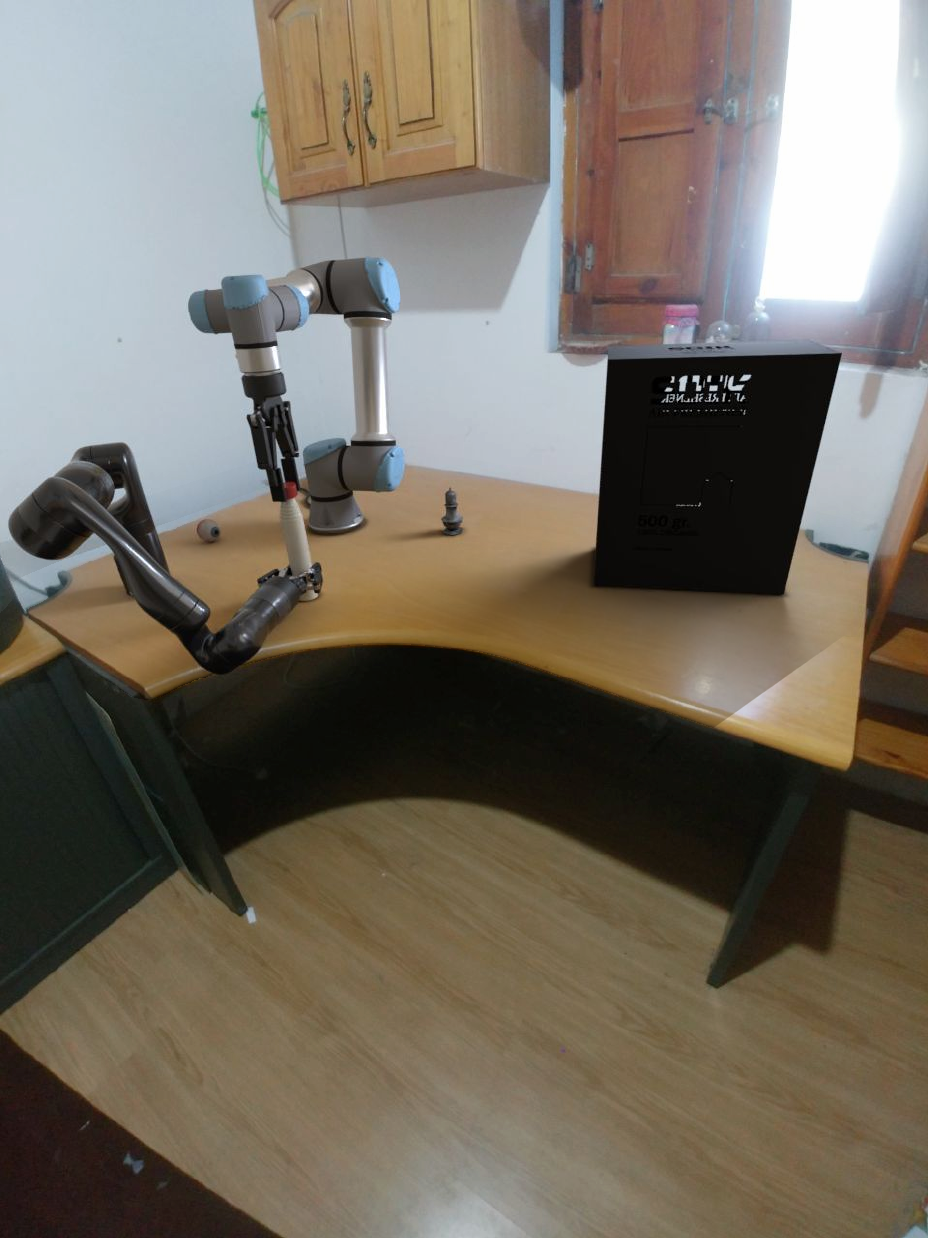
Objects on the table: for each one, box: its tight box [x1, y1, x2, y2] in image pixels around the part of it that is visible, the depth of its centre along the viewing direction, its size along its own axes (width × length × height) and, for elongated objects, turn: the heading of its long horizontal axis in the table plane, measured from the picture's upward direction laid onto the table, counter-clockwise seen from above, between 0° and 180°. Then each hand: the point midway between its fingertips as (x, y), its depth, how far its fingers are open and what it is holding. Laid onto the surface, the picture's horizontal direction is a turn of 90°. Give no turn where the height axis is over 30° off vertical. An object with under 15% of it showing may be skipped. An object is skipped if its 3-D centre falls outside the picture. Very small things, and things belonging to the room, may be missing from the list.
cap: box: [283, 481, 299, 499], centre depth 120 cm, size 4×4×2 cm
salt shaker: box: [440, 487, 464, 536], centre depth 158 cm, size 6×6×12 cm
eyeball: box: [196, 518, 222, 543], centre depth 162 cm, size 6×6×6 cm
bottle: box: [279, 497, 319, 602], centre depth 126 cm, size 4×4×24 cm
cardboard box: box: [593, 339, 843, 595], centre depth 123 cm, size 38×20×45 cm, turn 78°
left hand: (307, 565), depth 132 cm, fingers closed on bottle, 4 cm apart
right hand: (287, 495), depth 121 cm, fingers open, 6 cm apart
